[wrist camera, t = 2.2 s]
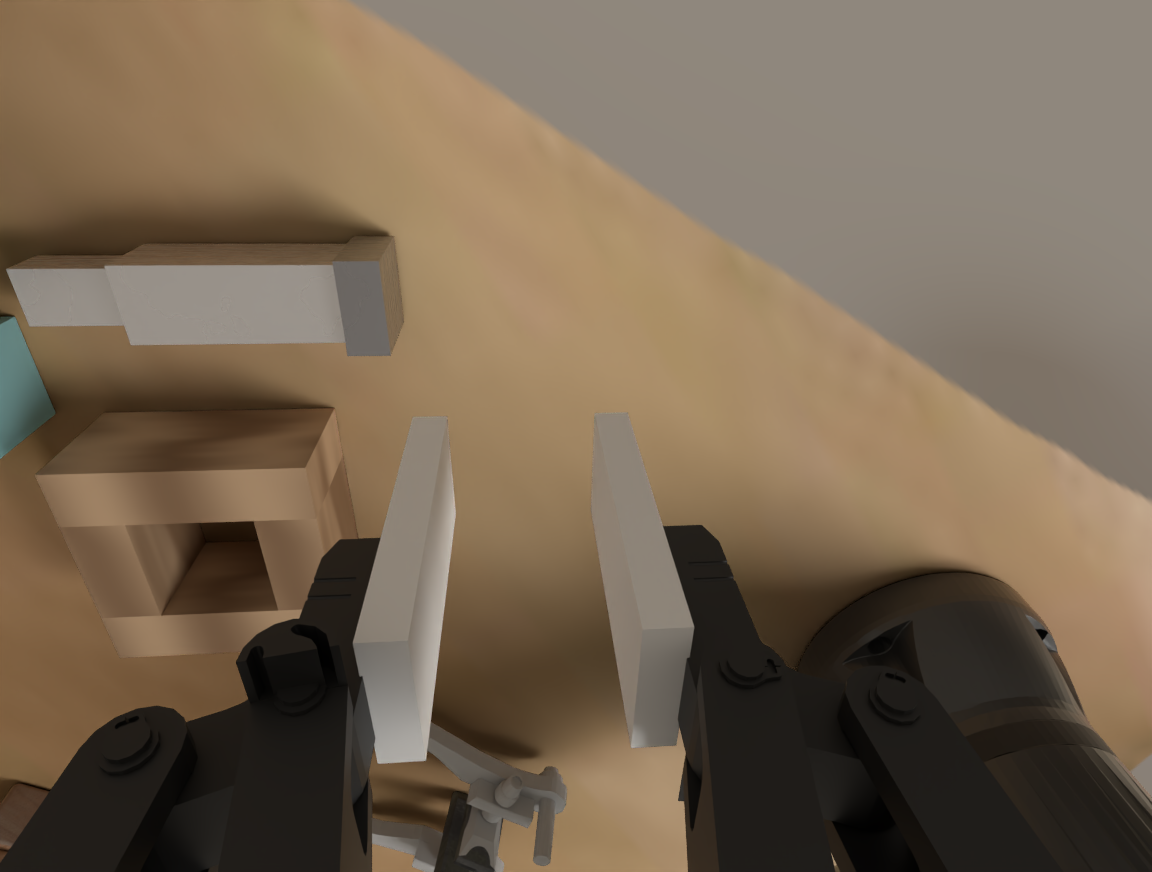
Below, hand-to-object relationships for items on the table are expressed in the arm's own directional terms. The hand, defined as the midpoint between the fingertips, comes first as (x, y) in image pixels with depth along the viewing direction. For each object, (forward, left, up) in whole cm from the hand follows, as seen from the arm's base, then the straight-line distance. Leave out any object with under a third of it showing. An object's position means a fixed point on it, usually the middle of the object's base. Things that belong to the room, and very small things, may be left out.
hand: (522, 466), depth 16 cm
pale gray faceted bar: (+12, 0, -14) cm, 19 cm away
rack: (+14, +11, -15) cm, 23 cm away
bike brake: (+8, +32, -15) cm, 37 cm away
